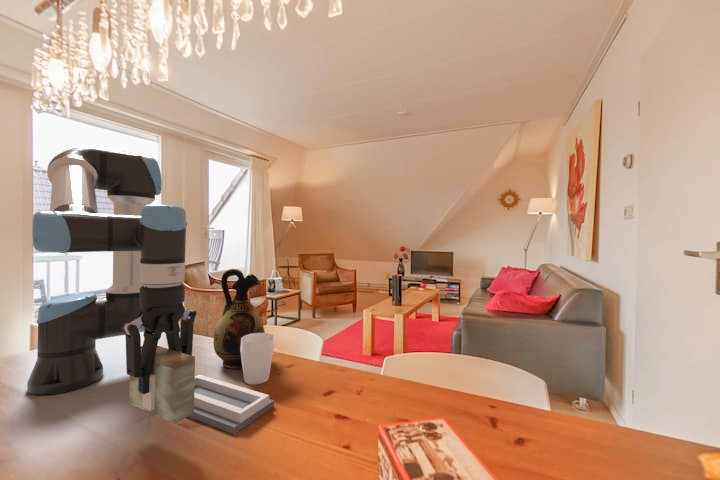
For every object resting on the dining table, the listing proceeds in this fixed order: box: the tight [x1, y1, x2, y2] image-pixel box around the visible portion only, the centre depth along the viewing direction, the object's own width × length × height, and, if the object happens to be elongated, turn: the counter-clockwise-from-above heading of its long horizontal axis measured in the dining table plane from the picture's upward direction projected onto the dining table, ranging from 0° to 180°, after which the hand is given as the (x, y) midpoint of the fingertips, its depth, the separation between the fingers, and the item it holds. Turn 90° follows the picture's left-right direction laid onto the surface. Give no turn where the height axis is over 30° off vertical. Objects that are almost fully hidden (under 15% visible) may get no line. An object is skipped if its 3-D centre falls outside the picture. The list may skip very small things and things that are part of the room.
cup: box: [240, 332, 275, 386], centre depth 90 cm, size 9×9×12 cm
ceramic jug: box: [212, 268, 266, 370], centre depth 101 cm, size 17×15×30 cm
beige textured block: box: [128, 345, 196, 425], centre depth 62 cm, size 14×4×11 cm, turn 64°
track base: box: [187, 374, 275, 435], centre depth 75 cm, size 24×12×4 cm, turn 64°
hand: (161, 401), depth 62 cm, fingers closed on beige textured block, 4 cm apart
